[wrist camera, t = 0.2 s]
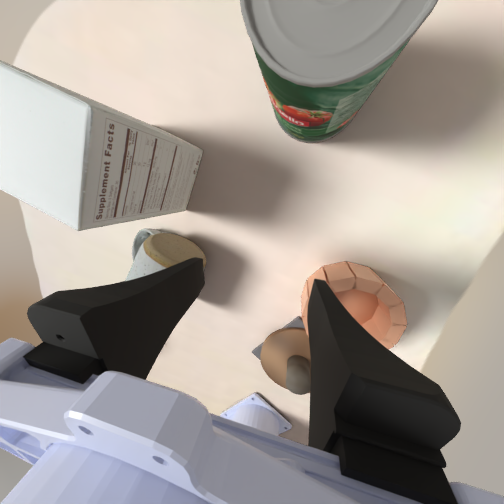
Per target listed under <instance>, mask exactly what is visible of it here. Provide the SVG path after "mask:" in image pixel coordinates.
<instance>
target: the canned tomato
mask: <svg viewBox="0 0 504 504" xmlns="http://www.w3.org/2000/svg"><path fill="white" fill-rule="evenodd" d="M437 2H438V0H240V4H241V12H242V15H243V19H244V22H245V26H246V29H247V33H248V35H249V37H250V39H251V41H252V44H253V47H254V51H255V54H256V58H257V60H258V63H259V67H260V69H261V73H262V76H263V79H264V82H265V85H266V88H267V91H268V94H269V97H270V100H271V103H272V106H273V109H274V113H275V116H276V119H277V121H278V123H279V125H280V126H281V128H282V129H283V130H284V131H285V133H287V134H288V135H289V136H290V137H292V138H294V139H296V140H298V141H301V142H306V143H316V142H320V141H324V140H327V139H329V138H332V137H333V136H335V135H336V134H338V133H339V132H341V131H342V130H343V129H344V128H345V127H346V126H347V125H348V124H349V123H350V122H351V121H352V119H353V118H354V117H355V115H356V114H357V112H358V111H359V109H360V108H361V106H362V105H363V104H364V102H365V101H366V100H367V98H368V97H369V96H370V94H371V93H372V91H373V90H374V89H375V87H376V86H377V84H378V83H379V82H380V80H381V79H382V78H383V76H384V75H385V74H386V72H387V71H388V69H389V68H390V67H391V65H392V64H393V62H394V61H395V60H396V58H397V57H398V56H399V54H400V52H401V51H402V50H403V49H404V47H405V46H406V45H407V43H408V42H409V40H410V38H411V37H412V36H413V35H414V34H415V32H416V31H417V30H418V29H419V27H420V26H421V25H422V23H423V22H424V21H425V20H426V18H427V17H428V16H429V14H430V13H431V12H432V10H433V8H434V7H435V5H436V3H437Z"/></svg>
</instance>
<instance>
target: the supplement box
mask: <svg viewBox="0 0 504 504" xmlns="http://www.w3.org/2000/svg"><path fill="white" fill-rule="evenodd" d="M202 154H203V150H202V149H200V148H198V147H196V146H194V145H192V144H190V143H188V142H186V141H184V140H182V139H180V138H178V137H176V136H174V135H172V134H170V133H168V132H166V131H164V130H161V129H159V128H157V127H155V126H152V125H150V124H148V123H145V122H143V121H141V120H138V119H136V118H133V117H131V116H129V115H127V114H124V113H122V112H120V111H117V110H115V109H113V108H110V107H108V106H106V105H103V104H101V103H99V102H96V101H94V100H92V99H89V98H87V97H85V96H82V95H80V94H78V93H75V92H73V91H71V90H68V89H66V88H64V87H61V86H59V85H57V84H54V83H52V82H50V81H47V80H45V79H43V78H40V77H38V76H36V75H33V74H31V73H29V72H26V71H24V70H22V69H19V68H17V67H15V66H12V65H10V64H8V63H5V62H3V61H0V190H2V191H4V192H6V193H8V194H10V195H12V196H14V197H16V198H18V199H19V200H21V201H23V202H25V203H27V204H29V205H31V206H32V207H34V208H36V209H38V210H40V211H42V212H44V213H45V214H47V215H49V216H51V217H53V218H55V219H57V220H58V221H60V222H62V223H64V224H66V225H68V226H70V227H71V228H73V229H75V230H77V231H81V230H86V229H91V228H96V227H103V226H107V225H113V224H118V223H123V222H129V221H134V220H140V219H145V218H150V217H155V216H161V215H166V214H171V213H176V212H182V211H185V210H186V208H187V205H188V202H189V198H190V195H191V191H192V188H193V185H194V181H195V178H196V175H197V171H198V168H199V165H200V161H201V158H202Z"/></svg>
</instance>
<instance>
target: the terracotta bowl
mask: <svg viewBox="0 0 504 504" xmlns="http://www.w3.org/2000/svg"><path fill="white" fill-rule="evenodd" d="M314 278H315V279H320V280H325V281H326V282H327V284H328V285H329V287H330V288H331V290H332V291H333V293H334V294H335V295H336V297H337V298H338V300H339V301H340V302H341V303H342V305H343V306H344V307H345V308H346V310H347V311H348V312H349V313H350V314H351V315H352V317H353V318H354V319H355V320H356V321H357V322H358V323H359V324H360V325H361V326H362V327H363V328H364V329H365V330H366V331H367V332H368V333H369V334H371V335H372V336H373V337H374V338H375V339H376V340H377V341H379V342H380V343H381V344H382V345H383V346H384V347H386V348H387V349H390V348H392V347H394V344H395V345H396V344H397V342H398V341H399V339H400V337H401V336H402V334H403V332H404V331H405V329H406V327H407V326H406V325H407V319H406V313H405V307H404V303H403V301H402V300H401V299H400V298H399V297H398V296H397V295H396V294H395V293H394V292H393V290H392V289H391V288H390V287H389V286H388V285H387V284H386V283H385V282H384V281H383V280H382V279H381V278H380V277H379V276H378V275H377V274H376V273H375V272H374V271H373V270H372V269H371V268H369V267H367V266H363V265H359V264H355V263H351V262H345V261H344V262H340V263H335V264H330V265H325V266H324V267H321V268H320V269H319V270H317V271H316V272H315V273H314V274H313V275H311V276H310V277H309V278H308V280H306V283H305V286H304V289H303V292H302V295H301V304H302V320H303V323H304V327H305V330H306V333H307V335H308V323H307V311H308V302H309V298H310V294H311V290H312V286H313V282H314ZM308 337H309V335H308Z"/></svg>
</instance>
